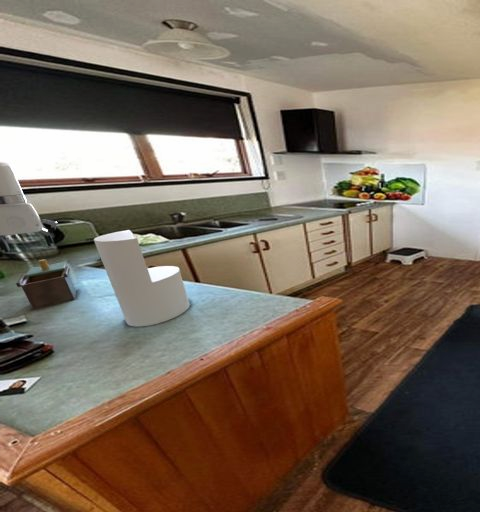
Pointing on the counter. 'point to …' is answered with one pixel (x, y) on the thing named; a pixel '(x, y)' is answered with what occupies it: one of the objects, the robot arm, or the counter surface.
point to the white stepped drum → (141, 281)
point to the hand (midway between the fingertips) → (29, 248)
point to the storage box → (48, 288)
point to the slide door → (46, 268)
